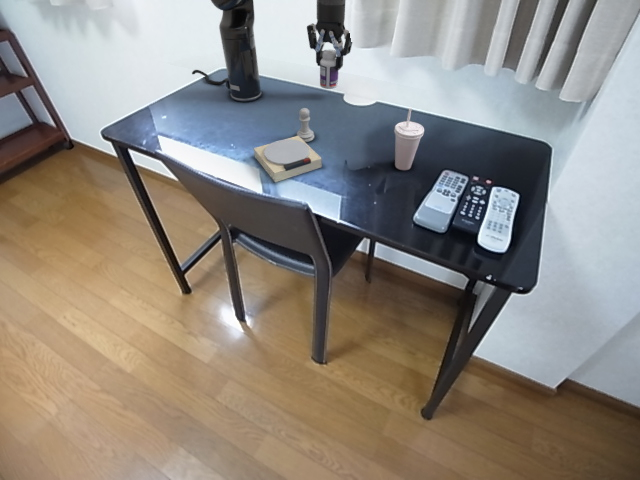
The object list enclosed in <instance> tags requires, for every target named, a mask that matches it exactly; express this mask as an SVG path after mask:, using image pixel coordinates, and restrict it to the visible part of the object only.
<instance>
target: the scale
mask: <svg viewBox="0 0 640 480" xmlns="http://www.w3.org/2000/svg"><path fill="white" fill-rule="evenodd" d="M253 153H254V158H255V159H256V160H257V162H258V163H259V164H260V166H262V168H263V169H264V170H265V172H266V173H267V174H268V175H269V177H270V178H271V179H272V181H273V182H274V183H278V182H281V181H284V180H287V179H290V178H294V177H297V176H300V175H303V174H305V173H308V172H311V171H314V170H318V169H321V168H323V166H322V165H323V164H322V162H323V161H322V157H321V156H320V155H319V154H318V153H317V152H316V151H315V150H314V149H313V148H312V147H310V145H308V143H307V142H304V141H303V140H302V139H301V138H300V137H299V136H297V135H295V136H292V137H288V138H285V139H279V140H275V141H273V142H270V143H268V144H263V145H259V146H257V147H254V148H253Z"/></svg>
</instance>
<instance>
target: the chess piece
mask: <svg viewBox="0 0 640 480" xmlns="http://www.w3.org/2000/svg"><path fill="white" fill-rule="evenodd" d="M298 114H299V118H298V120H299V121H300V126H301V127H300V129H299V130H298V131H297V132H296V136H299V137H300V138H301V139H302V140H303V141H304V142H305V143H308V142H309V143H310V142H312V141H313V140H314V139H315V133H314V131H313V130H312V129H311V128H310V126H309V123H310V120H311V117H310V109H308V108H306V107H302V108H301V109H300V110H299V113H298Z"/></svg>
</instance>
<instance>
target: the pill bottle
mask: <svg viewBox="0 0 640 480" xmlns="http://www.w3.org/2000/svg"><path fill="white" fill-rule="evenodd" d="M322 51H323V58H322V59H321V61H320V66H319V86H320V87H321V88H323V89H326V90H334V89H335V88H337V87H338V86H339V70H336V56H337V54H336V50H335V49H329V48H328V49H323V50H322Z"/></svg>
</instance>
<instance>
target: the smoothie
mask: <svg viewBox="0 0 640 480" xmlns="http://www.w3.org/2000/svg"><path fill="white" fill-rule="evenodd" d="M411 115H412V108H411V107H409V108H408V112H407V117H406V121H401V122H398V123H397V124H395V126H394V131H393V133H394V134H395V139H394V140H395V145H394V148H395V150H394V160H395V161H394V166H395V168H396V169H397V170H400V171H408V170H410V169H411V168H412V165H413V162H414V159H415V156H416V153H417V150H418V148H419V144H420V142H421V139H422V137H423V136H424V134H425V128H424V126H423V125H422V124H420V123H418V122H415V121H411Z"/></svg>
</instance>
